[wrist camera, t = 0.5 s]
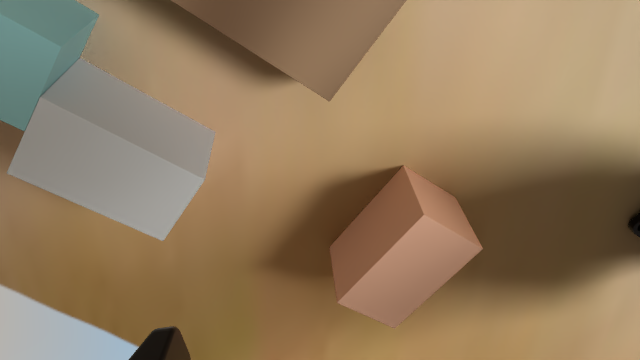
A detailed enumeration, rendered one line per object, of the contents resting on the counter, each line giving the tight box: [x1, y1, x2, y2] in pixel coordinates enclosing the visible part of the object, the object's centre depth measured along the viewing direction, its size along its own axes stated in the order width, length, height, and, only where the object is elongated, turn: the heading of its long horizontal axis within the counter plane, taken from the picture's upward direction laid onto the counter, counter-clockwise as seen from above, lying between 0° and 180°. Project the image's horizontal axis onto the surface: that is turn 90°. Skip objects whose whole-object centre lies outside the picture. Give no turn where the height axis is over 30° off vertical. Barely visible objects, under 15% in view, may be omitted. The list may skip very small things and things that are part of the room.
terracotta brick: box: [330, 165, 483, 328], centre depth 23 cm, size 6×4×4 cm, turn 145°
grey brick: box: [7, 58, 215, 241], centre depth 19 cm, size 6×4×4 cm, turn 54°
